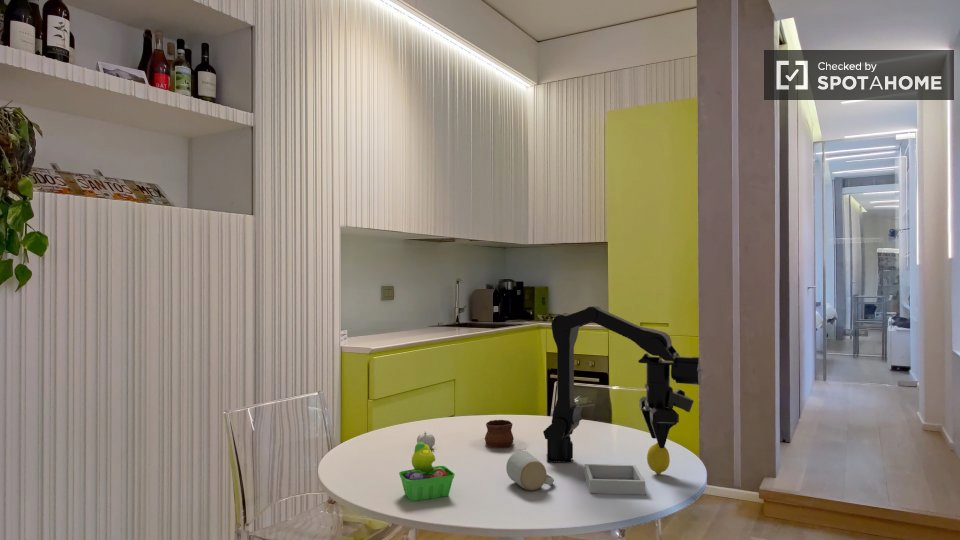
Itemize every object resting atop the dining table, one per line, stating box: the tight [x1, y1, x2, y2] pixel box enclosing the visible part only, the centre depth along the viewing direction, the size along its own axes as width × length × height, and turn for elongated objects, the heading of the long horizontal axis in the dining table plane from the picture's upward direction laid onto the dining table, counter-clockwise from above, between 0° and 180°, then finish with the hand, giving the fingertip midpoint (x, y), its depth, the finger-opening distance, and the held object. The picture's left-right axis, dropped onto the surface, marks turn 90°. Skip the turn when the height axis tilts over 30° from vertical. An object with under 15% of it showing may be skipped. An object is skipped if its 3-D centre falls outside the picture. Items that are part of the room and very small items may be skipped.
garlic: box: [416, 430, 436, 449], centre depth 182 cm, size 6×5×5 cm
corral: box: [584, 463, 646, 496], centre depth 150 cm, size 13×13×3 cm
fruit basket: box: [398, 442, 455, 502], centre depth 144 cm, size 11×9×11 cm
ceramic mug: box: [505, 450, 555, 491], centre depth 150 cm, size 11×8×8 cm
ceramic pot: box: [484, 419, 525, 451], centre depth 186 cm, size 18×18×7 cm
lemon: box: [646, 442, 671, 475], centre depth 158 cm, size 6×6×8 cm
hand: (657, 443), depth 159 cm, fingers open, 9 cm apart
